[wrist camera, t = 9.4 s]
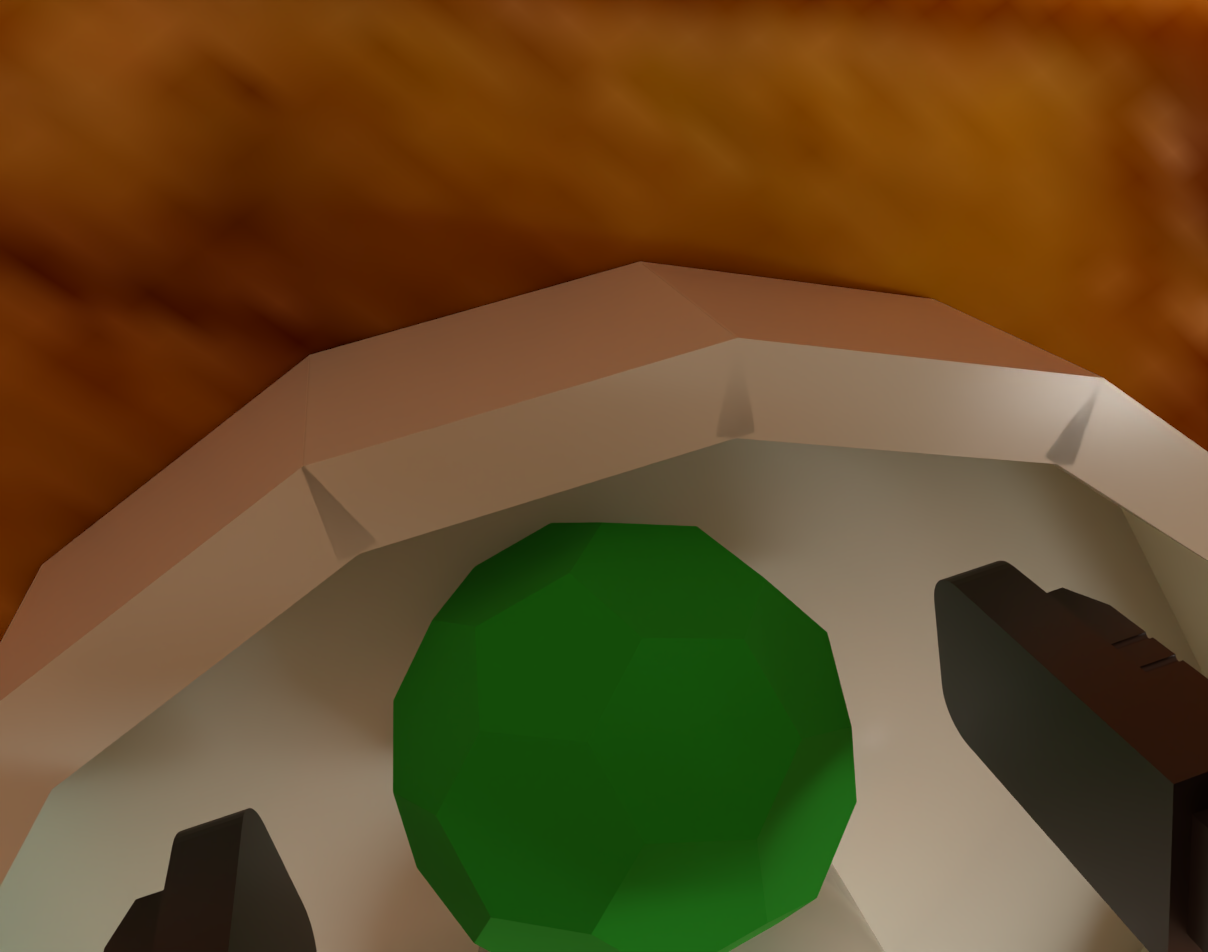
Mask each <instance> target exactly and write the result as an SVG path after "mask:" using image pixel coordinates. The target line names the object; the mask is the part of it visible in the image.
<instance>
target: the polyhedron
mask: <svg viewBox="0 0 1208 952" xmlns="http://www.w3.org/2000/svg"><path fill="white" fill-rule="evenodd" d="M393 794H394V797H395V800H396V804H397V807H398V810H399V813H400V816H401V819H402V823H403V826H404V829H405V832H406V835H407V838H408V841H409V845H410V848H411V851H412V854H413V857H414V860H415V864H416V867H417V869H418V870H419V871H420V873H421V874H422V875H423V877H424V878H425V879H426V881H427V882H428V883H429V884H430V886H431V887H432V888H433V890H434V891H435V892H436V894H437V895H438V896H439V898H440V899H441V900H442V902H443V903H444V904H445V906H446V907H447V908H448V910H449V911H450V912H451V914H452V915H453V916H454V918H455V919H456V920H457V921H458V923H459V924H460V925H461V927H462V928H463V929H464V931H465V932H466V933H467V935H468V936H469V937H470V939H471V940H472V941H473V943H474V944H476V945H478V946H480V947H482V948H484V949H486V950H488V951H489V952H729V951H731V950H732V949H734V948H736V947H738V946H739V945H741V944H743V943H745V942H746V941H748V940H750V939H752V938H753V937H755V936H757V935H759V934H760V933H762V932H764V931H766V930H767V929H769V928H771V927H773V926H774V925H776V924H778V923H779V922H781V921H782V920H784V919H786V918H787V917H789V916H790V915H792V914H793V913H795V912H796V911H798V910H799V909H801V908H802V907H804V906H805V905H807V904H808V903H810V902H812V901H813V900H815V899H816V898H817V897H818V894H819V892H820V889H821V887H822V885H823V882H824V880H825V877H826V875H827V872H828V870H829V868H830V865H831V863H832V860H833V858H834V856H835V853H836V851H837V848H838V846H839V843H840V841H841V839H842V836H843V834H844V831H845V829H846V827H847V824H848V822H849V819H850V817H851V815H852V812H853V810H854V807H855V805H856V802H857V797H856V783H855V768H854V753H853V738H852V726H851V722H850V718H849V714H848V710H847V707H846V703H845V699H844V695H843V691H842V687H841V683H840V679H839V676H838V672H837V668H836V664H835V660H834V656H833V652H832V648H831V645H830V641H829V637H828V633H827V632H826V631H825V630H824V629H823V628H822V627H821V626H819V625H818V624H817V623H816V622H815V621H814V620H813V619H811V618H810V617H809V616H808V615H807V614H806V613H804V612H803V611H802V610H801V609H800V608H799V607H798V606H796V605H795V604H794V603H793V602H792V601H791V600H789V599H788V598H787V597H786V596H785V595H784V594H783V593H781V592H780V591H779V590H778V589H777V588H776V587H774V586H773V585H772V584H771V583H770V582H769V581H767V580H766V579H765V578H764V577H763V576H761V575H760V574H759V573H757V572H756V571H755V570H753V569H752V568H751V567H750V566H748V565H747V564H746V563H744V562H743V561H742V560H740V559H739V558H738V557H736V556H735V555H734V554H733V553H731V552H730V551H729V550H727V549H726V548H725V547H723V546H722V545H721V544H719V543H718V542H717V541H716V540H714V539H713V538H712V537H710V536H709V535H708V534H706V533H705V532H704V531H703V530H701V529H700V528H699V527H697V526H680V525H655V524H631V523H607V522H580V523H550V524H548V525H546V526H544V527H543V528H541V529H539V530H537V531H536V532H534V533H532V534H530V535H529V536H527V537H525V538H523V539H522V540H520V541H518V542H517V543H515V544H513V545H511V546H510V547H508V548H506V549H504V550H503V551H501V552H499V553H497V554H496V555H494V556H492V557H490V558H489V559H487V560H485V561H483V562H482V563H480V564H478V565H476V566H475V567H474V568H473V569H472V570H471V572H470V573H469V574H468V575H467V577H466V578H465V579H464V580H463V582H462V583H461V584H460V585H459V587H458V588H457V589H456V590H455V592H454V593H453V594H452V596H451V597H450V598H449V599H448V601H447V602H446V603H445V604H444V606H443V607H442V608H441V609H440V611H439V612H438V613H437V614H436V616H435V617H434V618H433V619H432V621H431V623H430V625H429V627H428V630H427V632H426V634H425V636H424V638H423V640H422V642H421V644H420V646H419V648H418V650H417V652H416V654H415V656H414V658H413V661H412V663H411V665H410V667H409V669H408V671H407V673H406V675H405V677H404V679H403V681H402V683H401V685H400V687H399V690H398V692H397V694H396V696H395V698H394V700H393Z"/></svg>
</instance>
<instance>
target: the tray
mask: <svg viewBox="0 0 1208 952" xmlns="http://www.w3.org/2000/svg"><path fill="white" fill-rule="evenodd" d="M580 522H607V523H631V524H655V525H680V526H697V527H699V528H700V529H701V530H703V531H704V532H705V533H706V534H708V535H709V536H710V537H712V538H713V539H714V540H716V541H717V542H718V543H719V544H721V545H722V546H723V547H725V548H726V549H727V550H729V551H730V552H731V553H733V554H734V555H735V556H736V557H738V558H739V559H740V560H742V561H743V562H744V563H746V564H747V565H748V566H750V567H751V568H752V569H753V570H755V571H756V572H757V573H759V574H760V575H761V576H763V577H764V578H765V579H766V580H767V581H769V582H770V583H771V584H772V585H773V586H774V587H776V588H777V589H778V590H779V591H780V592H781V593H783V594H784V595H785V596H786V597H787V598H788V599H789V600H791V601H792V602H793V603H794V604H795V605H796V606H798V607H799V608H800V609H801V610H802V611H803V612H804V613H806V614H807V615H808V616H809V617H810V618H811V619H813V620H814V621H815V622H816V623H817V624H818V625H819V626H821V627H822V628H823V629H824V630H825V631H826V632H827V633H828V637H829V641H830V645H831V648H832V652H833V656H834V660H835V664H836V668H837V672H838V676H839V679H840V683H841V687H842V691H843V695H844V699H845V703H846V707H847V710H848V714H849V718H850V722H851V726H852V738H853V753H854V768H855V783H856V797H857V802H856V805H855V807H854V810H853V812H852V815H851V817H850V819H849V822H848V824H847V827H846V829H845V831H844V834H843V836H842V839H841V841H840V843H839V846H838V848H837V851H836V853H835V856H834V858H833V860H832V863H831V865H830V868H829V870H828V872H827V875H826V877H825V880H824V882H823V885H822V887H821V889H820V892H819V894H818V897H817V898H816V899H815V900H813V901H812V902H810V903H808V904H807V905H805V906H804V907H802V908H801V909H799V910H798V911H796V912H795V913H793V914H792V915H790V916H789V917H787V918H786V919H784V920H782V921H781V922H779V923H778V924H776V925H774V926H773V927H771V928H769V929H767V930H766V931H764V932H762V933H760V934H759V935H757V936H755V937H753V938H752V939H750V940H748V941H746V942H745V943H743V944H741V945H739V946H738V947H736V948H734V949H732V950H731V951H729V952H1149V951H1148V950H1147V949H1146V948H1145V947H1144V945H1143V944H1142V943H1141V942H1140V941H1139V940H1138V939H1137V937H1136V936H1135V935H1134V934H1133V933H1132V932H1131V931H1130V929H1129V928H1128V927H1127V926H1126V925H1125V924H1124V923H1123V921H1122V920H1121V919H1120V918H1119V917H1118V916H1117V915H1116V913H1115V912H1114V911H1113V910H1112V909H1111V908H1110V907H1109V905H1108V904H1107V903H1106V902H1105V901H1104V900H1103V899H1102V897H1101V896H1100V895H1099V894H1098V893H1097V892H1096V891H1095V890H1094V888H1093V887H1092V886H1091V885H1090V884H1089V883H1088V882H1087V880H1086V879H1085V878H1084V877H1083V876H1082V875H1081V874H1080V872H1079V871H1078V870H1077V869H1076V868H1075V867H1074V866H1073V864H1072V863H1071V862H1070V861H1069V860H1068V859H1067V858H1066V856H1065V855H1064V854H1063V853H1062V852H1061V851H1060V850H1059V848H1058V847H1057V846H1056V845H1055V844H1054V843H1053V842H1052V840H1051V839H1050V838H1049V837H1048V836H1047V835H1046V834H1045V832H1044V831H1043V830H1042V829H1041V828H1040V827H1039V826H1038V824H1037V823H1036V822H1035V821H1034V820H1033V819H1032V818H1031V816H1030V815H1029V814H1028V813H1027V812H1026V811H1025V810H1024V808H1023V807H1022V806H1021V805H1020V804H1019V803H1018V802H1017V800H1016V799H1015V798H1014V797H1013V796H1012V795H1011V794H1010V792H1009V791H1008V790H1007V789H1006V788H1005V787H1004V786H1003V785H1002V783H1001V782H1000V781H999V780H998V779H997V778H996V777H995V775H994V774H993V773H992V772H991V771H990V770H989V769H988V767H987V766H986V765H985V764H984V763H983V762H982V761H981V759H980V758H979V757H978V756H977V755H976V754H975V753H974V751H973V750H972V749H971V748H970V747H969V746H968V745H967V743H966V742H965V741H964V739H963V738H962V737H961V735H960V734H959V732H958V730H957V728H956V727H955V725H954V723H953V721H952V718H951V716H950V714H949V711H948V709H947V706H946V703H945V699H944V695H943V690H942V681H941V670H940V659H939V648H938V638H937V627H936V616H935V605H934V589H935V586H936V584H937V582H938V581H939V580H942V579H945V578H948V577H951V576H954V575H957V574H960V573H963V572H966V571H969V570H972V569H975V568H978V567H981V566H984V565H987V564H990V563H993V562H996V561H1000V560H1001V561H1006V562H1008V563H1010V564H1011V565H1013V566H1014V567H1015V568H1017V569H1018V570H1019V571H1020V572H1022V573H1023V574H1024V575H1025V576H1027V577H1028V578H1029V579H1030V580H1031V581H1033V582H1034V583H1035V584H1036V585H1038V586H1039V587H1040V588H1041V589H1043V590H1044V591H1045V592H1046V593H1048V592H1050V591H1053V590H1056V589H1059V588H1062V587H1063V588H1065V589H1068V590H1071V591H1073V592H1076V593H1079V594H1082V595H1084V596H1087V597H1090V598H1092V599H1095V600H1098V601H1101V602H1103V603H1106V604H1109V605H1111V606H1112V607H1113V608H1115V609H1116V610H1117V611H1119V612H1120V613H1121V614H1123V615H1124V616H1125V617H1127V618H1128V619H1129V620H1131V621H1132V622H1133V623H1135V624H1136V625H1137V626H1139V627H1140V628H1141V629H1143V630H1144V631H1145V632H1146V635H1147V637H1148V638H1152V637H1153V638H1155V639H1156V640H1157V641H1159V642H1160V643H1161V644H1162V645H1164V646H1165V647H1166V648H1168V649H1169V650H1170V651H1172V652H1173V653H1174V654H1175V655H1176V658H1177V660H1178V661H1182V660H1184V661H1185V662H1186V663H1188V664H1189V665H1190V666H1192V667H1193V668H1194V669H1196V670H1197V671H1198V672H1200V673H1201V674H1202V675H1204V676H1205V677H1206V678H1208V452H1207V451H1206V450H1205V449H1203V448H1202V447H1200V446H1199V445H1197V444H1196V443H1195V442H1193V441H1192V440H1190V439H1189V438H1188V437H1186V436H1185V435H1183V434H1182V433H1181V432H1179V431H1178V430H1176V429H1175V428H1173V427H1172V426H1171V425H1169V424H1168V423H1166V422H1165V421H1164V420H1162V419H1161V418H1159V417H1158V416H1156V415H1155V414H1154V413H1152V412H1151V411H1149V410H1148V409H1147V408H1145V407H1144V406H1142V405H1141V404H1140V403H1138V402H1137V401H1135V400H1134V399H1132V398H1131V397H1130V396H1128V395H1127V394H1125V393H1124V392H1123V391H1121V390H1120V389H1118V388H1117V387H1116V386H1114V385H1113V384H1111V383H1110V382H1108V381H1107V380H1106V379H1104V378H1103V377H1101V376H1099V375H1097V374H1094V373H1092V372H1090V371H1088V370H1086V369H1084V368H1082V367H1079V366H1077V365H1075V364H1073V363H1071V362H1069V361H1066V360H1064V359H1062V358H1060V357H1058V356H1056V355H1054V354H1051V353H1049V352H1047V351H1045V350H1043V349H1041V348H1038V347H1036V346H1034V345H1032V344H1030V343H1028V342H1026V341H1023V340H1021V339H1019V338H1017V337H1015V336H1013V335H1010V334H1008V333H1006V332H1004V331H1002V330H1000V329H998V328H995V327H993V326H991V325H989V324H987V323H985V322H982V321H980V320H978V319H976V318H974V317H972V316H970V315H967V314H965V313H963V312H961V311H959V310H957V309H954V308H952V307H950V306H948V305H946V304H944V303H942V302H939V301H937V300H935V299H930V298H922V297H914V296H906V295H899V294H891V293H883V292H875V291H868V290H860V289H852V288H844V287H836V286H829V285H821V284H813V283H805V282H798V281H790V280H782V279H774V278H766V277H759V276H751V275H743V274H735V273H728V272H720V271H712V270H704V269H696V268H689V267H681V266H673V265H665V264H658V263H650V262H642V261H639V262H636V263H633V264H629V265H626V266H622V267H619V268H615V269H611V270H608V271H604V272H601V273H597V274H594V275H590V276H587V277H583V278H580V279H576V280H573V281H569V282H565V283H562V284H558V285H555V286H551V287H548V288H544V289H541V290H537V291H534V292H530V293H527V294H523V295H519V296H516V297H512V298H509V299H505V300H502V301H498V302H495V303H491V304H488V305H484V306H481V307H477V308H473V309H470V310H466V311H463V312H459V313H456V314H452V315H449V316H445V317H442V318H438V319H435V320H431V321H427V322H424V323H420V324H417V325H413V326H410V327H406V328H403V329H399V330H396V331H392V332H389V333H385V334H381V335H378V336H374V337H371V338H367V339H364V340H360V341H357V342H353V343H350V344H346V345H343V346H339V347H335V348H332V349H328V350H325V351H321V352H318V353H314V354H310V355H309V356H308V357H306V358H305V359H304V360H302V361H301V362H300V363H299V364H297V365H296V366H295V367H294V368H292V369H291V370H290V371H288V372H287V373H286V374H285V375H283V376H282V377H281V378H279V379H278V380H277V381H276V382H274V383H273V384H272V385H271V386H269V387H268V388H267V389H265V390H264V391H263V392H262V393H260V394H259V395H258V396H257V397H255V398H254V399H253V400H251V401H250V402H249V403H248V404H246V405H245V406H244V407H242V408H241V409H240V410H239V411H237V412H236V413H235V414H234V415H232V416H231V417H230V418H228V419H227V420H226V421H225V422H223V423H222V424H221V425H220V426H218V427H217V428H216V429H214V430H213V431H212V432H211V433H209V434H208V435H207V436H205V437H204V438H203V439H202V440H200V441H199V442H198V443H197V444H195V445H194V446H193V447H191V448H190V449H189V450H188V451H186V452H185V453H184V454H182V455H181V456H180V457H179V458H177V459H176V460H175V461H174V462H172V463H171V464H170V465H168V466H167V467H166V468H165V469H163V470H162V471H161V472H160V473H158V474H157V475H156V476H154V477H153V478H152V479H151V480H149V481H148V482H147V483H145V484H144V485H143V486H142V487H140V488H139V489H138V490H137V491H135V492H134V493H133V494H131V495H130V496H129V497H128V498H126V499H125V500H124V501H122V502H121V503H120V504H119V505H117V506H116V507H115V508H114V509H112V510H111V511H110V512H108V513H107V514H106V515H105V516H103V517H102V518H101V519H100V520H98V521H97V522H96V523H94V524H93V525H92V526H91V527H89V528H88V529H87V530H85V531H84V532H83V533H82V534H80V535H79V536H78V537H77V538H75V539H74V540H73V541H71V542H70V543H69V544H68V545H66V546H65V547H64V548H63V549H61V550H60V551H59V552H57V553H56V554H55V555H54V556H52V557H51V558H50V559H48V560H47V561H46V562H45V563H43V564H42V565H41V567H40V569H39V571H38V573H37V575H36V576H35V578H34V580H33V582H32V584H31V586H30V588H29V590H28V591H27V593H26V595H25V597H24V599H23V601H22V603H21V605H20V606H19V608H18V610H17V612H16V614H15V616H14V618H13V620H12V621H11V623H10V625H9V627H8V629H7V631H6V633H5V635H4V636H3V638H2V640H1V642H0V952H104V948H105V946H106V945H107V943H108V942H109V940H110V938H111V937H112V935H113V934H114V932H115V931H116V929H117V928H118V926H119V924H120V923H121V921H122V920H123V918H124V917H125V915H126V914H127V912H128V910H129V909H130V907H131V906H132V904H133V903H134V901H135V899H138V898H141V897H144V896H147V895H150V894H153V893H156V892H159V891H162V890H164V886H165V881H166V875H167V870H168V865H169V860H170V855H171V850H172V845H173V841H174V838H175V836H176V834H177V833H178V832H179V831H182V830H185V829H188V828H191V827H194V826H197V825H200V824H203V823H206V822H209V821H212V820H215V819H218V818H221V817H224V816H227V815H230V814H233V813H236V812H239V811H242V810H245V809H248V808H252V809H254V810H255V811H256V812H257V813H258V814H259V816H260V817H261V819H262V821H263V823H264V825H265V827H266V829H267V831H268V833H269V835H270V837H271V839H272V841H273V843H274V845H275V847H276V849H277V851H278V853H279V855H280V857H281V859H282V861H283V864H284V866H285V868H286V870H287V872H288V874H289V876H290V878H291V880H292V882H293V884H294V886H295V888H296V890H297V892H298V894H299V896H300V898H301V900H302V902H303V904H304V907H305V909H306V911H307V914H308V917H309V920H310V923H311V926H312V930H313V934H314V939H315V944H316V950H317V952H489V951H488V950H486V949H484V948H482V947H480V946H478V945H476V944H474V943H473V941H472V940H471V939H470V937H469V936H468V935H467V933H466V932H465V931H464V929H463V928H462V927H461V925H460V924H459V923H458V921H457V920H456V919H455V918H454V916H453V915H452V914H451V912H450V911H449V910H448V908H447V907H446V906H445V904H444V903H443V902H442V900H441V899H440V898H439V896H438V895H437V894H436V892H435V891H434V890H433V888H432V887H431V886H430V884H429V883H428V882H427V881H426V879H425V878H424V877H423V875H422V874H421V873H420V871H419V870H418V869H417V867H416V864H415V860H414V857H413V854H412V851H411V848H410V845H409V841H408V838H407V835H406V832H405V829H404V826H403V823H402V819H401V816H400V813H399V810H398V807H397V804H396V800H395V797H394V794H393V700H394V698H395V696H396V694H397V692H398V690H399V687H400V685H401V683H402V681H403V679H404V677H405V675H406V673H407V671H408V669H409V667H410V665H411V663H412V661H413V658H414V656H415V654H416V652H417V650H418V648H419V646H420V644H421V642H422V640H423V638H424V636H425V634H426V632H427V630H428V627H429V625H430V623H431V621H432V619H433V618H434V617H435V616H436V614H437V613H438V612H439V611H440V609H441V608H442V607H443V606H444V604H445V603H446V602H447V601H448V599H449V598H450V597H451V596H452V594H453V593H454V592H455V590H456V589H457V588H458V587H459V585H460V584H461V583H462V582H463V580H464V579H465V578H466V577H467V575H468V574H469V573H470V572H471V570H472V569H473V568H474V567H475V566H476V565H478V564H480V563H482V562H483V561H485V560H487V559H489V558H490V557H492V556H494V555H496V554H497V553H499V552H501V551H503V550H504V549H506V548H508V547H510V546H511V545H513V544H515V543H517V542H518V541H520V540H522V539H523V538H525V537H527V536H529V535H530V534H532V533H534V532H536V531H537V530H539V529H541V528H543V527H544V526H546V525H548V524H550V523H580Z"/></svg>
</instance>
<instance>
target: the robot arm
mask: <svg viewBox="0 0 1208 952" xmlns="http://www.w3.org/2000/svg"><path fill="white" fill-rule="evenodd" d="M934 605H935V616H936V627H937V638H938V648H939V659H940V670H941V681H942V690H943V695H944V699H945V703H946V706H947V709H948V711H949V714H950V716H951V718H952V721H953V723H954V725H955V727H956V728H957V730H958V732H959V734H960V735H961V737H962V738H963V739H964V741H965V742H966V743H967V745H968V746H969V747H970V748H971V749H972V750H973V751H974V753H975V754H976V755H977V756H978V757H979V758H980V759H981V761H982V762H983V763H984V764H985V765H986V766H987V767H988V769H989V770H990V771H991V772H992V773H993V774H994V775H995V777H996V778H997V779H998V780H999V781H1000V782H1001V783H1002V785H1003V786H1004V787H1005V788H1006V789H1007V790H1008V791H1009V792H1010V794H1011V795H1012V796H1013V797H1014V798H1015V799H1016V800H1017V802H1018V803H1019V804H1020V805H1021V806H1022V807H1023V808H1024V810H1025V811H1026V812H1027V813H1028V814H1029V815H1030V816H1031V818H1032V819H1033V820H1034V821H1035V822H1036V823H1037V824H1038V826H1039V827H1040V828H1041V829H1042V830H1043V831H1044V832H1045V834H1046V835H1047V836H1048V837H1049V838H1050V839H1051V840H1052V842H1053V843H1054V844H1055V845H1056V846H1057V847H1058V848H1059V850H1060V851H1061V852H1062V853H1063V854H1064V855H1065V856H1066V858H1067V859H1068V860H1069V861H1070V862H1071V863H1072V864H1073V866H1074V867H1075V868H1076V869H1077V870H1078V871H1079V872H1080V874H1081V875H1082V876H1083V877H1084V878H1085V879H1086V880H1087V882H1088V883H1089V884H1090V885H1091V886H1092V887H1093V888H1094V890H1095V891H1096V892H1097V893H1098V894H1099V895H1100V896H1101V897H1102V899H1103V900H1104V901H1105V902H1106V903H1107V904H1108V905H1109V907H1110V908H1111V909H1112V910H1113V911H1114V912H1115V913H1116V915H1117V916H1118V917H1119V918H1120V919H1121V920H1122V921H1123V923H1124V924H1125V925H1126V926H1127V927H1128V928H1129V929H1130V931H1131V932H1132V933H1133V934H1134V935H1135V936H1136V937H1137V939H1138V940H1139V941H1140V942H1141V943H1142V944H1143V945H1144V947H1145V948H1146V949H1147V950H1148V951H1149V952H1208V678H1206V677H1205V676H1204V675H1202V674H1201V673H1200V672H1198V671H1197V670H1196V669H1194V668H1193V667H1192V666H1190V665H1189V664H1188V663H1186V662H1185V661H1184V660H1182V661H1178V660H1177V658H1176V655H1175V654H1174V653H1173V652H1172V651H1170V650H1169V649H1168V648H1166V647H1165V646H1164V645H1162V644H1161V643H1160V642H1159V641H1157V640H1156V639H1155V638H1153V637H1152V638H1148V637H1147V635H1146V632H1145V631H1144V630H1143V629H1141V628H1140V627H1139V626H1137V625H1136V624H1135V623H1133V622H1132V621H1131V620H1129V619H1128V618H1127V617H1125V616H1124V615H1123V614H1121V613H1120V612H1119V611H1117V610H1116V609H1115V608H1113V607H1112V606H1111V605H1109V604H1106V603H1103V602H1101V601H1098V600H1095V599H1092V598H1090V597H1087V596H1084V595H1082V594H1079V593H1076V592H1073V591H1071V590H1068V589H1065V588H1063V587H1062V588H1059V589H1056V590H1053V591H1050V592H1048V593H1046V592H1045V591H1044V590H1043V589H1041V588H1040V587H1039V586H1038V585H1036V584H1035V583H1034V582H1033V581H1031V580H1030V579H1029V578H1028V577H1027V576H1025V575H1024V574H1023V573H1022V572H1020V571H1019V570H1018V569H1017V568H1015V567H1014V566H1013V565H1011V564H1010V563H1008V562H1006V561H1001V560H1000V561H996V562H993V563H990V564H987V565H984V566H981V567H978V568H975V569H972V570H969V571H966V572H963V573H960V574H957V575H954V576H951V577H948V578H945V579H942V580H939V581H938V582H937V584H936V586H935V589H934ZM104 952H317V950H316V944H315V939H314V934H313V930H312V926H311V923H310V920H309V917H308V914H307V911H306V909H305V907H304V904H303V902H302V900H301V898H300V896H299V894H298V892H297V890H296V888H295V886H294V884H293V882H292V880H291V878H290V876H289V874H288V872H287V870H286V868H285V866H284V864H283V861H282V859H281V857H280V855H279V853H278V851H277V849H276V847H275V845H274V843H273V841H272V839H271V837H270V835H269V833H268V831H267V829H266V827H265V825H264V823H263V821H262V819H261V817H260V816H259V814H258V813H257V812H256V811H255V810H254V809H252V808H248V809H245V810H242V811H239V812H236V813H233V814H230V815H227V816H224V817H221V818H218V819H215V820H212V821H209V822H206V823H203V824H200V825H197V826H194V827H191V828H188V829H185V830H182V831H179V832H178V833H177V834H176V836H175V838H174V841H173V845H172V850H171V855H170V860H169V865H168V870H167V875H166V881H165V886H164V890H162V891H159V892H156V893H153V894H150V895H147V896H144V897H141V898H138V899H135V901H134V903H133V904H132V906H131V907H130V909H129V910H128V912H127V914H126V915H125V917H124V918H123V920H122V921H121V923H120V924H119V926H118V928H117V929H116V931H115V932H114V934H113V935H112V937H111V938H110V940H109V942H108V943H107V945H106V946H105V948H104Z"/></svg>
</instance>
